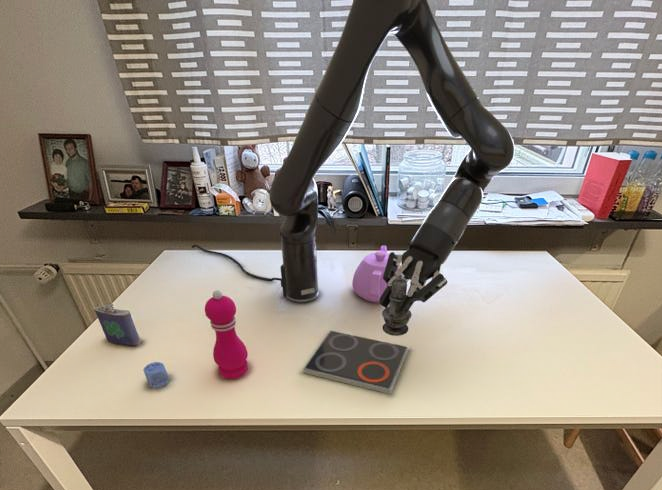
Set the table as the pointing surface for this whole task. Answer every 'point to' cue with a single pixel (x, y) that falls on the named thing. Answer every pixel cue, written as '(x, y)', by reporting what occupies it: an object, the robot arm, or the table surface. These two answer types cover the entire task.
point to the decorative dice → (156, 374)
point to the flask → (117, 326)
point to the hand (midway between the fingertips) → (390, 309)
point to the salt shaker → (392, 320)
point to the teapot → (371, 276)
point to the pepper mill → (226, 337)
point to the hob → (357, 361)
